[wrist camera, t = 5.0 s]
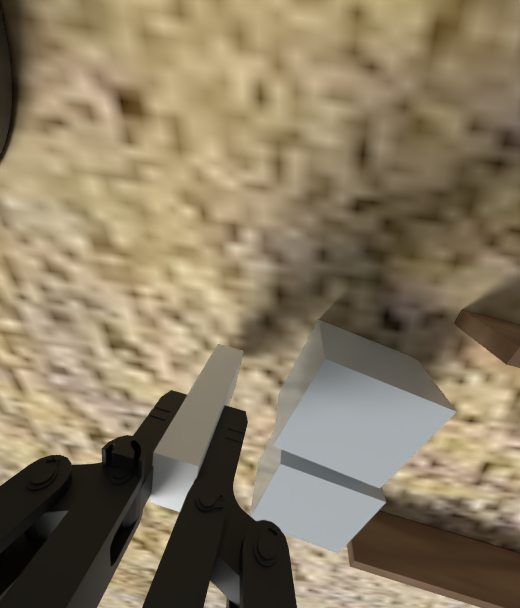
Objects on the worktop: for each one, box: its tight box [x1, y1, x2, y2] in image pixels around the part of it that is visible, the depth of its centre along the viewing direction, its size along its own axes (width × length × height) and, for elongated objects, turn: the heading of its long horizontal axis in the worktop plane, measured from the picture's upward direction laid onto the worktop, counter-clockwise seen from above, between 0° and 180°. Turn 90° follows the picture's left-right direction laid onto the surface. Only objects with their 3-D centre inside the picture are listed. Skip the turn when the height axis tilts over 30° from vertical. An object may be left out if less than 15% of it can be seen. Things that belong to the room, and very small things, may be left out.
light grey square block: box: [273, 319, 457, 488], centre depth 13 cm, size 6×6×4 cm
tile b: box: [250, 429, 386, 553], centre depth 16 cm, size 6×6×4 cm
